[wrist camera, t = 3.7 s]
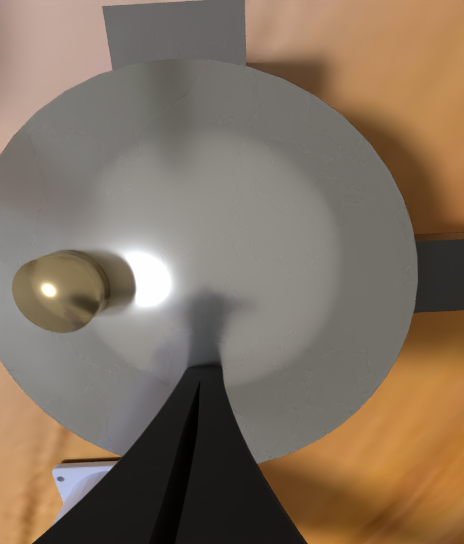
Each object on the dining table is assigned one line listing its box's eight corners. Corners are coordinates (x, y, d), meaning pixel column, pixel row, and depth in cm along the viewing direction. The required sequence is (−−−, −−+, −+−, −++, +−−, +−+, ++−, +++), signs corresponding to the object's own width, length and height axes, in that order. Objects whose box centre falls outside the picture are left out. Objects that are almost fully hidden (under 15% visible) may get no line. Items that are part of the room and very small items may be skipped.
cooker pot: (395, 361, 16) (446, 416, 12) (41, 379, 16) (-17, 438, 12) (451, 49, 11) (568, -21, 7) (-64, 79, 11) (-214, 24, 7)
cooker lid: (370, 436, 13) (398, 487, 10) (61, 451, 13) (28, 503, 11) (431, 62, 8) (506, 18, 6) (-69, 90, 8) (-177, 57, 6)
